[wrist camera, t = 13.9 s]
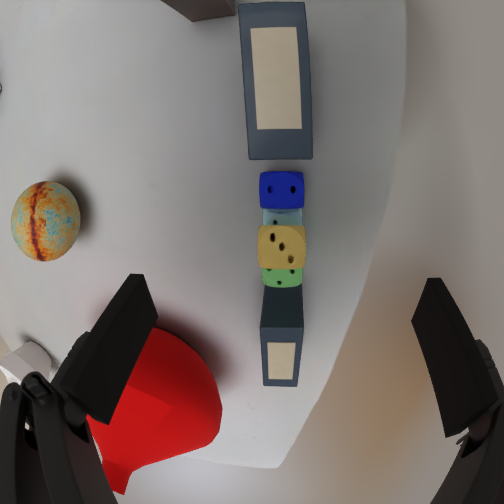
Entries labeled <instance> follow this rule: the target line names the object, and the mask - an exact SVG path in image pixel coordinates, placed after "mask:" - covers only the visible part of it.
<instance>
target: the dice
mask: <svg viewBox="0 0 504 504" xmlns="http://www.w3.org/2000/svg"><path fill="white" fill-rule="evenodd" d="M259 196H260V206H261V207H262V208H264V209H263V226H260V227H259V230H258V263H259V266H260V267H262V282H263V283H264V284H265V285H267V286H271V287H282V288H284V287H294V286H298V285H299V284H301V283H302V275H303V267H304V266H305V260H306V232H305V227H304V226H302V208H303V207H304V176H303V173H302V172H294V171H271V172H262V173H261V174H260V179H259Z"/></svg>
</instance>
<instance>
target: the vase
mask: <svg viewBox="0 0 504 504" xmlns="http://www.w3.org/2000/svg"><path fill="white" fill-rule="evenodd" d="M221 417H222V404H221V400H220V396H219V392H218V388H217V384H216V382H215V380H214V377H213V375H212V373H211V372H210V370H209V368H208V367H207V365H206V364H205V362H204V361H203V359H202V358H201V357H200V356H199V355H198V353H197V352H196V351H194V350H193V349H192V348H191V347H190V346H189V345H187V344H186V343H185V342H184V341H182V340H181V339H180V338H178V337H176V336H174V335H173V334H171V333H169V332H166V331H164V330H161V329H159V328H155V327H153V328H152V330H151V332H150V335H149V337H148V339H147V341H146V343H145V345H144V347H143V349H142V351H141V353H140V355H139V358H138V360H137V362H136V364H135V366H134V368H133V371H132V373H131V375H130V377H129V379H128V382H127V384H126V386H125V388H124V391H123V393H122V395H121V398H120V400H119V402H118V405H117V407H116V409H115V412H114V414H113V416H112V419H111V421H110V424H109V426H108V425H106V424H103V423H101V422H98V421H96V420H94V419H93V418H92V417H91V416H89V415H88V414H87V416H86V419H87V421H88V423H89V426H90V430H91V433H92V436H93V437H94V439H95V441H96V443H97V444H98V447H99V449H100V452H101V455H102V458H103V461H102V467H103V469H104V472H105V475H106V477H107V480H108V482H109V484H110V487H111V489H112V491H115V492H117V493H120V494H122V495H124V493H125V490H126V487H127V483H128V480H129V477H130V475H131V474H132V472H133V471H135V470H137V469H139V468H141V467H142V466H145V465H148V464H151V463H155V462H158V461H162V460H165V459H168V458H171V457H174V456H177V455H180V454H184V453H187V452H190V451H193V450H196V449H199V448H202V447H205V446H207V445H209V444H210V443H211V442H212V441H213V440H214V438H215V437H216V435H217V434H218V433H219V429H220V423H221Z"/></svg>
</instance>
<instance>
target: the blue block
mask: <svg viewBox="0 0 504 504" xmlns="http://www.w3.org/2000/svg"><path fill="white" fill-rule="evenodd" d="M238 13H239V27H240V41H241V55H242V69H243V83H244V97H245V111H246V126H247V140H248V155H249V160H279V159H305V160H311V159H312V158H313V137H312V96H311V74H310V57H309V44H308V31H307V21H306V11H305V3H304V2H263V3H249V4H239V5H238ZM303 332H304V318H303V297H302V283H301V284H299V285H298V286H294V287H284V288H282V287H271V286H267V285H265V287H264V296H263V305H262V313H261V322H260V338H261V355H262V371H263V385H264V386H282V387H297V383H298V376H299V368H300V359H301V351H302V342H303Z"/></svg>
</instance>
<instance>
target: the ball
mask: <svg viewBox="0 0 504 504" xmlns="http://www.w3.org/2000/svg"><path fill="white" fill-rule="evenodd" d="M11 228H12V234H13V237H14V240H15V242H16V244H17V246H18V247H19V249H20V250H21V251H22V252H23V253H24V254H25V255H26V256H28V257H30V258H31V259H34V260H37V261H52V260H55V259H57V258H59V257H61V256H63V255H64V254H65V253H66V252H67V251H68V250H69V249H70V248H71V247H72V245H73V244H74V242H75V240H76V238H77V236H78V233H79V229H80V211H79V207H78V204H77V201H76V199H75V197H74V196H73V194H72V193H71V192H70V191H69V190H68V189H67V188H66V187H64V186H63V185H61V184H59V183H56V182H51V181H44V182H39V183H36V184H34V185H32V186H30V187H29V188H27V189H26V190H25V191H24V192H23V193H22V194H21V195H20V197H19V198H18V200H17V202H16V204H15V206H14V209H13V212H12V218H11Z"/></svg>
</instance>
